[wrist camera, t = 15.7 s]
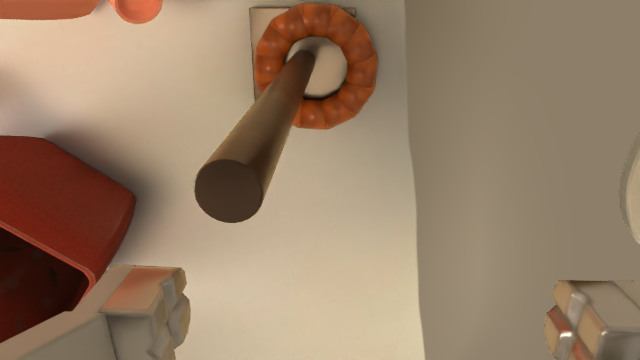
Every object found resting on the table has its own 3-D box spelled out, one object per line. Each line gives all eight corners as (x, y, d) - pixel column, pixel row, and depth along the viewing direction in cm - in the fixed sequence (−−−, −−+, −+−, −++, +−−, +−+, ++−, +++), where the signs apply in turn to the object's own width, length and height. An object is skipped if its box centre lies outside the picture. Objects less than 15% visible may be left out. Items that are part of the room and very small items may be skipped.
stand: (355, 7, 41) (385, 39, 12) (351, 109, 45) (369, 314, 16) (252, 7, 42) (47, 36, 13) (257, 108, 46) (111, 306, 17)
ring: (381, 7, 40) (384, 7, 37) (369, 127, 44) (371, 136, 42) (257, -1, 40) (251, 0, 37) (257, 120, 45) (252, 128, 42)
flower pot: (-32, 218, 53) (-187, 310, 37) (19, 93, 46) (-143, 142, 31) (109, 295, 57) (21, 408, 41) (175, 189, 50) (100, 277, 34)
